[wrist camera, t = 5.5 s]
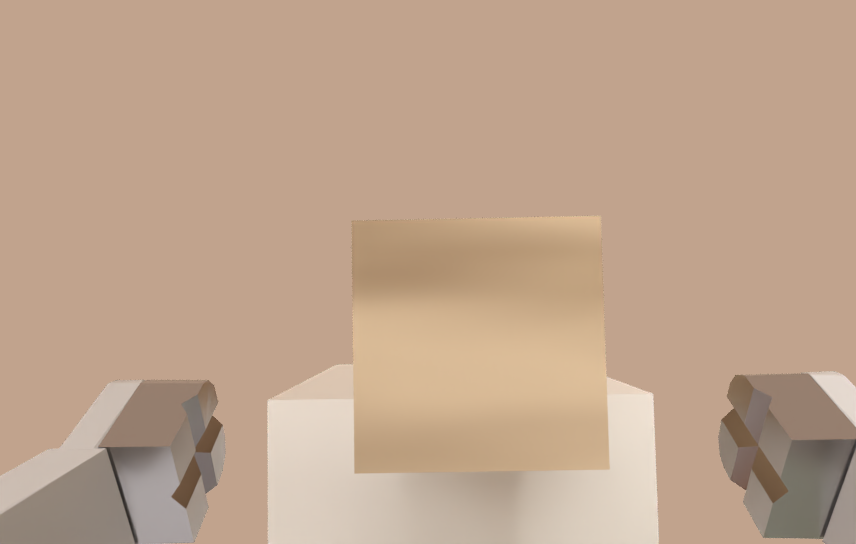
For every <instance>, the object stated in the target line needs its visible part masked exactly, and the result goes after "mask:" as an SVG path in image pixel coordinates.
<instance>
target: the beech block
mask: <svg viewBox="0 0 856 544" xmlns="http://www.w3.org/2000/svg"><path fill="white" fill-rule="evenodd" d="M602 266H603V265H602V238H601V216H569V217H519V218H468V219H421V220H420V219H418V220H417V219H416V220H369V221H368V220H366V221H352V289H353V290H352V291H353V387H354V474H359V473H422V472H485V471H549V470H610V463H609V435H608V406H607V378H606V351H605V324H604V294H603V267H602Z"/></svg>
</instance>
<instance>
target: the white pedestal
mask: <svg viewBox="0 0 856 544" xmlns="http://www.w3.org/2000/svg"><path fill="white" fill-rule="evenodd" d="M606 378H607V406H608V435H609V463H610V470H549V471H485V472H422V473H359V474H354V387H353V364H337V365H335V366H333V367H331V368H329V369H327V370H325V371H323V372H321V373H320V374H317V375H316V376H314V377H312V378H310V379H308V380H306V381H304V382H302V383H300V384H298V385H296V386H294V387H292V388H290V389H289V390H287V391H285V392H283V393H281V394H279V395H277V396H275V397H273V398H271V399H269V400H268V544H659V533H658V532H659V531H658V506H657V482H656V456H655V431H654V408H653V394H652V393H649V392H647V391H644V390H641V389H639V388H636V387H633V386H631V385H628V384H625V383H622V382H620V381H617V380H614V379H612V378H609V377H606Z"/></svg>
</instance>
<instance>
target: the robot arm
mask: <svg viewBox="0 0 856 544" xmlns="http://www.w3.org/2000/svg"><path fill="white" fill-rule="evenodd" d="M727 397H728V399H729V401H730V402H731V404H732V405H733V407H734V409H733V410H731V411H730V412H729V413H728V414H727V415H726V416H725V417H724V418H723V419H722V420H721V426H720V432H719V450H720V457H721V460H722V463H723V466H724V468H725V470H726V472H727V474H728V476H729V478H730V480H731V481H733V482H735V483H736V484H737V485H739V486H741V487H742V488H743V489H745V490H746V493H745V497H744V501H743V502H744V505H745V506H746V508H747V510H748V512H749V513H750V515H751V517H752V519H753V521H754V522H755V524H756V526H757V528H758V529H759V531H760V533H761V535H762V536H763V538H812V539H813V538H815V539H823V542H824V543H825V544H856V387H855V386H854V385H853V384H852V383H851V382H850V381H849V380H848V379H847V378H846V377H845V376H844V375H842V374H840V373H838V372H835V371H831V372H830V371H829V372H806V373H801V374H760V375H735V377H734V378H733V380H732V381H731V383H730V387H729V390H728V394H727ZM217 404H218V400H217V396H216V392H215V388H214V385H213V384H212V383H211V382H210V381H209V380H207V381H206V380H146V381H145V380H116V381H113V382H110V383H108V384H107V385H106V387H105V388H104V389H103V391H102V392H101V393H100V395H99V396H98V397H97V399H96V400H95V401H94V403H93V404H92V405H91V407H90V408H89V410H88V411H87V412H86V413H85V415H84V416H83V417H82V419H81V420H80V421H79V423H78V424H77V425H76V427H75V428H74V429H73V431H72V432H71V434H70V435H69V436H68V438H67V439H66V440H65V442H64V443H63V444H62V446H61V447H60V448H59V449H48V450H46V451H44V452H42V453H41V454H39V455H37V456H35V457H34V458H32V459H30V460H28V461H26V462H25V463H23V464H21V465H19V466H17V467H16V468H14V469H12V470H11V471H8V472H7V473H5V474H3V475H2V476H0V544H162V543H190V542H195V539H196V537H197V534H198V532H199V529H200V527H201V524H202V522H203V519H204V517H205V514H206V512H207V509H208V503H207V499H206V493H207V492H209V491H210V490H211V489H213V488H214V487H215V486H217V484H218V481H219V479H220V476H221V474H222V471H223V465H224V458H225V435H224V430H223V425H222V424H221V423H220V422H219V421H218V420H217V419H216V418H215V417H213V416H212V414H213V412H214V410H215V408H216V406H217Z"/></svg>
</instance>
